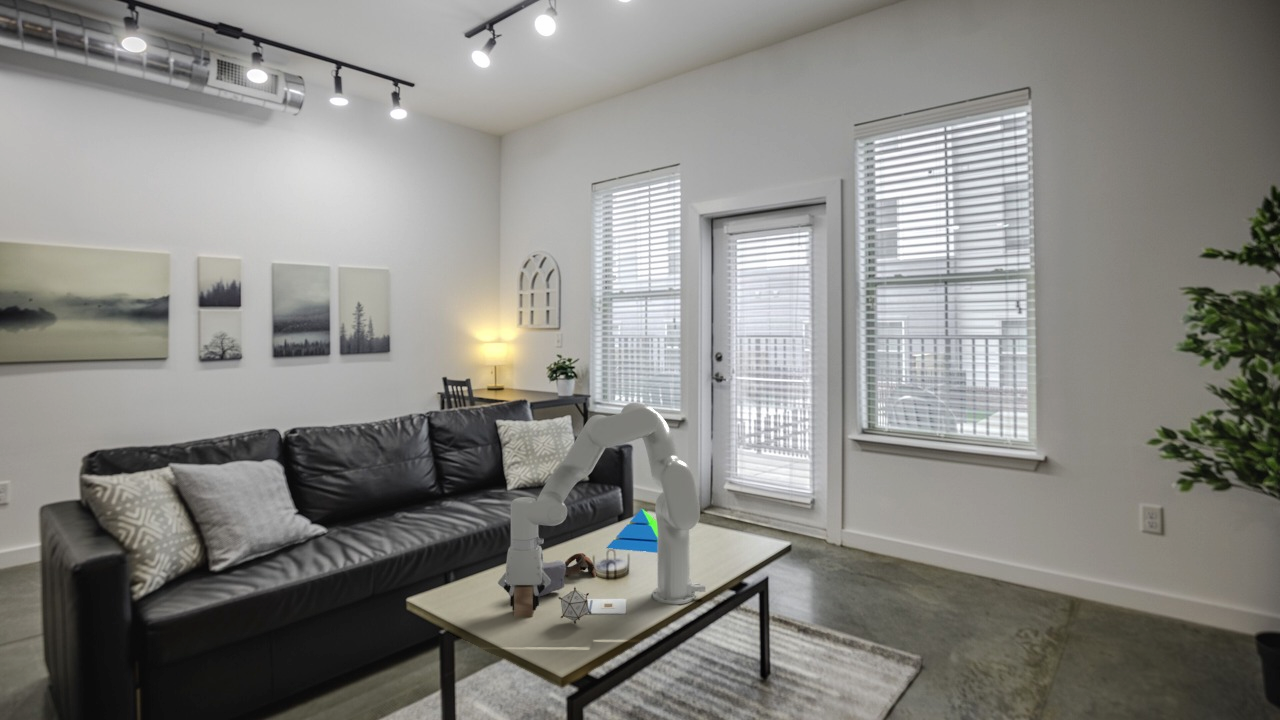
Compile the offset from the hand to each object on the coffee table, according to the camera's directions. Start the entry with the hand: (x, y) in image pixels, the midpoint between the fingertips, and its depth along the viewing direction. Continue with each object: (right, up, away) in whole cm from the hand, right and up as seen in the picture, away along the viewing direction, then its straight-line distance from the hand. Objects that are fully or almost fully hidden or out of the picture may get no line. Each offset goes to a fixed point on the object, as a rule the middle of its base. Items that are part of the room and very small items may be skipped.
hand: (524, 607), depth 174 cm
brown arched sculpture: (+14, -2, +30) cm, 33 cm away
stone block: (+4, -2, +12) cm, 13 cm away
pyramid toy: (+33, -2, +63) cm, 71 cm away
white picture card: (+22, -1, +4) cm, 22 cm away
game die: (+15, -2, -7) cm, 16 cm away
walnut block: (0, -2, 0) cm, 2 cm away
